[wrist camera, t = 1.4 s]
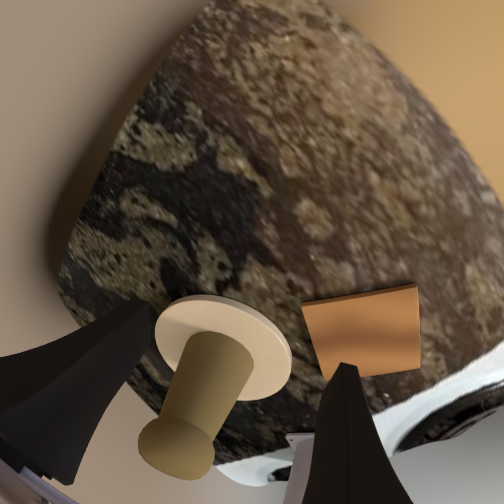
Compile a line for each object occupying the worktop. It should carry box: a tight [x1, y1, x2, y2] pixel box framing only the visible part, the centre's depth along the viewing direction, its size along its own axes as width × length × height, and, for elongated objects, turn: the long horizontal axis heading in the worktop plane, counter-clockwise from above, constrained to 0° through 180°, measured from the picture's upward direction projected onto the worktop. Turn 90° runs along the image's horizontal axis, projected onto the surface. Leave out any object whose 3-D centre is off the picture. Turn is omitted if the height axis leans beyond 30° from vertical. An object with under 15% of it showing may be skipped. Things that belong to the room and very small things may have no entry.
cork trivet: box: [301, 283, 420, 381], centre depth 22 cm, size 8×8×1 cm
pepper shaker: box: [138, 331, 254, 480], centre depth 21 cm, size 6×6×11 cm
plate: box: [155, 294, 292, 401], centre depth 26 cm, size 12×12×1 cm
